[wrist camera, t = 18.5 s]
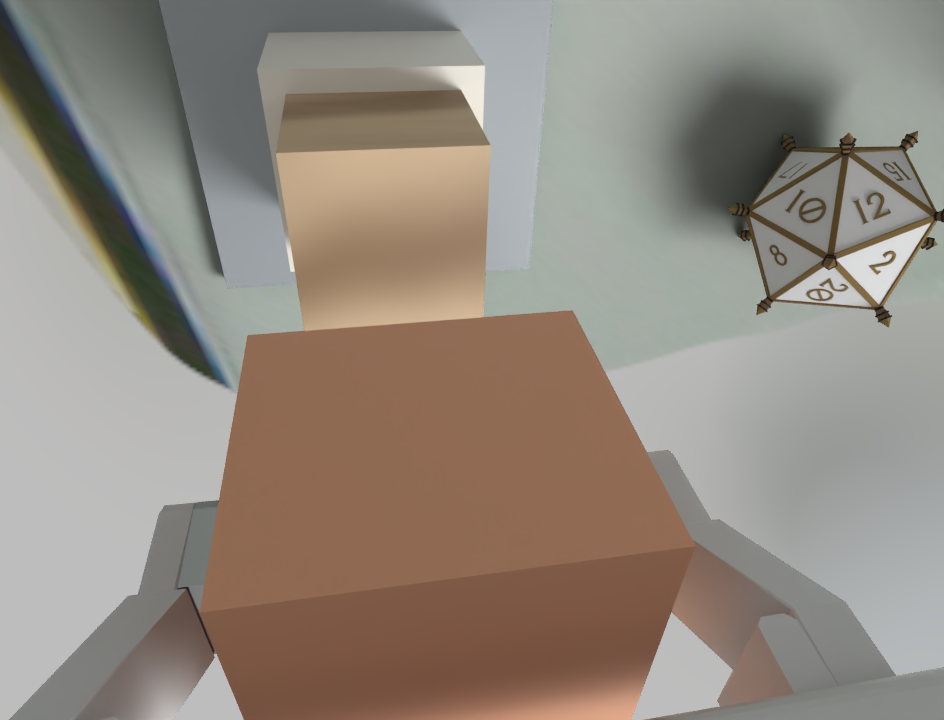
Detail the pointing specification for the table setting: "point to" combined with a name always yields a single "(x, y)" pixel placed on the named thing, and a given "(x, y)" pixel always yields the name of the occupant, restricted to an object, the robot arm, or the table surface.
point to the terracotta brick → (438, 528)
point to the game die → (839, 225)
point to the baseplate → (243, 127)
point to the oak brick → (385, 206)
